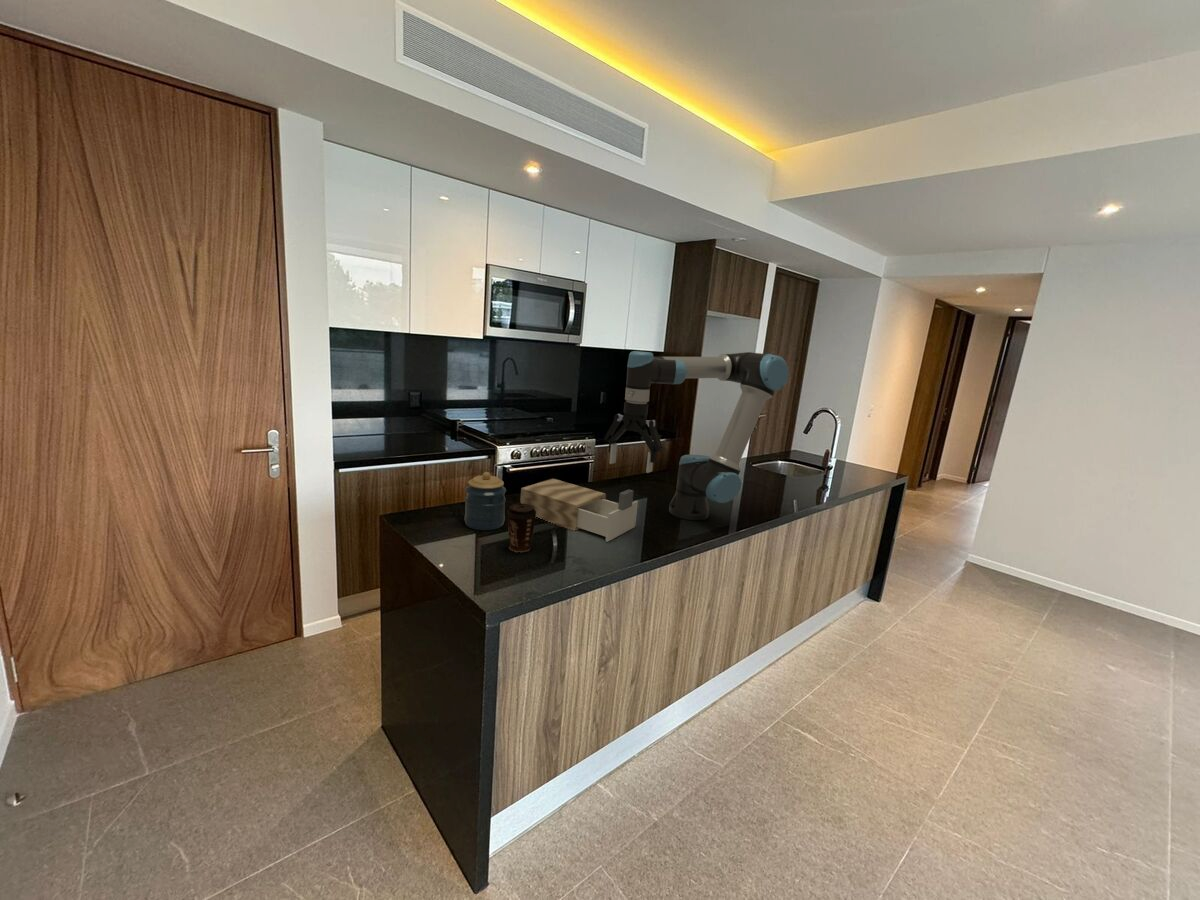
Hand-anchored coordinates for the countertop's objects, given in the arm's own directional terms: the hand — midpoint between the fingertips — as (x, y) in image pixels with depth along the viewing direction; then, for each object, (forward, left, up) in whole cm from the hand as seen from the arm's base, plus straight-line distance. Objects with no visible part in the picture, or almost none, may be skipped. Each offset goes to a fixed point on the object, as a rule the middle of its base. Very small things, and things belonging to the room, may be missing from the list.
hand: (630, 467), depth 161 cm
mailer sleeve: (+25, 0, -23) cm, 34 cm away
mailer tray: (+12, 0, -23) cm, 26 cm away
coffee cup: (+17, +31, -24) cm, 43 cm away
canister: (+38, +25, -24) cm, 52 cm away
